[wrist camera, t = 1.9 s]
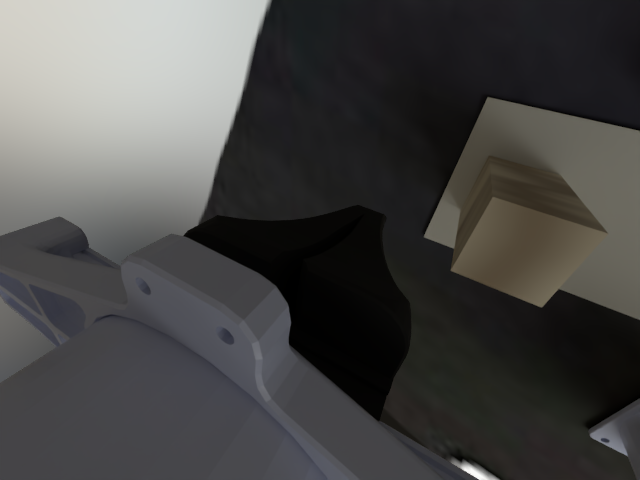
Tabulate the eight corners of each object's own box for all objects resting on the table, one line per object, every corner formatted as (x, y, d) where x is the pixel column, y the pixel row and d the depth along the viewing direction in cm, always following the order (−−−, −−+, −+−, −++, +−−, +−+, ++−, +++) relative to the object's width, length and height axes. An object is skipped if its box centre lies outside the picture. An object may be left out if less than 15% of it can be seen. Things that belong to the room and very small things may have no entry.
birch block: (560, 174, 16) (608, 233, 10) (521, 231, 19) (541, 307, 12) (488, 155, 18) (492, 196, 11) (460, 210, 20) (450, 270, 14)
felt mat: (847, 177, 12) (854, 178, 12) (655, 323, 18) (658, 326, 18) (487, 96, 17) (487, 97, 16) (424, 235, 22) (423, 236, 22)
